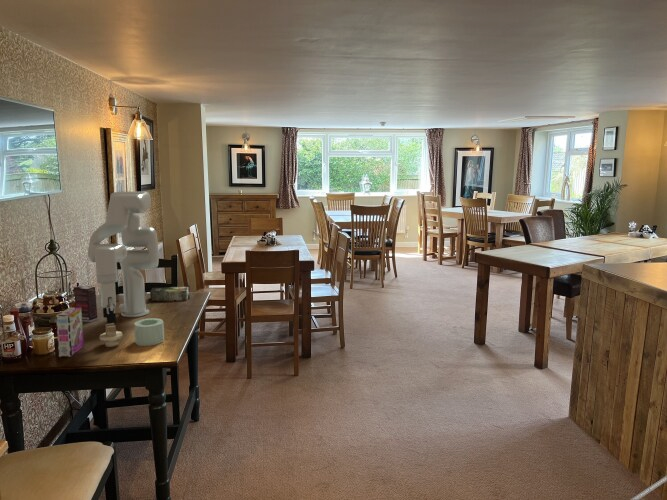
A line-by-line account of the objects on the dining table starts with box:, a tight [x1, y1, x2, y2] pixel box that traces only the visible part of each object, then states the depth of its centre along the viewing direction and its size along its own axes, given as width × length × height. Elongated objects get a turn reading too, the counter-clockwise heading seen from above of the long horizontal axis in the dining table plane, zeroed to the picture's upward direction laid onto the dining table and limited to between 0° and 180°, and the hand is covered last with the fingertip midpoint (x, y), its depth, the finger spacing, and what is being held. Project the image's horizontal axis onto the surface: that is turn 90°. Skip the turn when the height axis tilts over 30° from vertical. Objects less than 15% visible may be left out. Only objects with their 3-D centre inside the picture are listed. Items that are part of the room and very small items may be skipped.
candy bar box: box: [55, 307, 85, 358], centre depth 185 cm, size 11×5×16 cm, turn 5°
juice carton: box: [149, 286, 191, 302], centre depth 263 cm, size 20×10×6 cm, turn 104°
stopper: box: [99, 323, 124, 348], centre depth 194 cm, size 8×8×8 cm
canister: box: [133, 317, 165, 347], centre depth 198 cm, size 11×11×8 cm
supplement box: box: [73, 285, 98, 323], centre depth 224 cm, size 9×5×16 cm, turn 71°
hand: (109, 320), depth 192 cm, fingers open, 9 cm apart
